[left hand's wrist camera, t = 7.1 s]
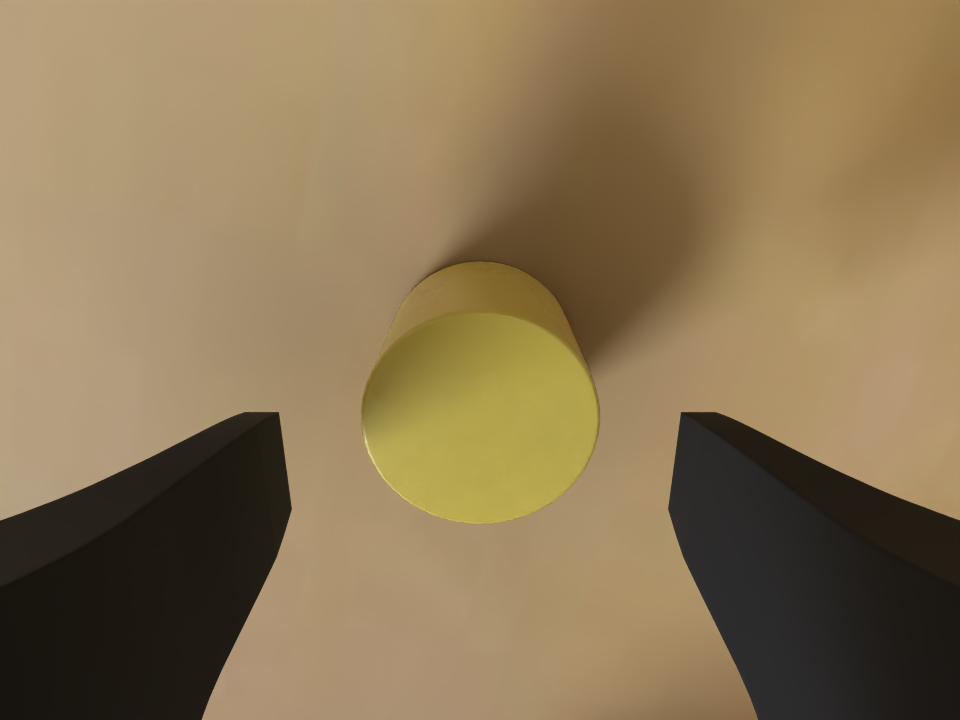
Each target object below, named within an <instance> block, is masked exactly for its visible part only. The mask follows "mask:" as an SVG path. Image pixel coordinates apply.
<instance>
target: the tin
mask: <svg viewBox="0 0 960 720" xmlns="http://www.w3.org/2000/svg"><path fill="white" fill-rule="evenodd" d="M599 426H600V406H599V400H598V394H597V391H596V387H595V384H594V381H593V379H592V376H591V374H590V372H589V369H588V367H587V365H586V362H585V360H584V358H583V356H582V353H581V351H580V349H579V346H578V344H577V342H576V339H575V337H574V335H573V333H572V330H571V328H570V326H569V323H568V321H567V319H566V317H565V314H564V312H563V310H562V308H561V306H560V305H559V303H558V302H557V300H556V299H555V297H554V296H553V295H552V294H551V293H550V291H549V290H548V289H547V288H546V287H545V286H544V285H542V284H541V283H540V282H539V281H538V280H536V279H535V278H533V277H532V276H530V275H529V274H527V273H525V272H523V271H521V270H519V269H517V268H514V267H511V266H508V265H505V264H500V263H494V262H482V261H478V262H466V263H461V264H456V265H453V266H450V267H447V268H444V269H442V270H440V271H438V272H436V273H434V274H432V275H430V276H429V277H427V278H426V279H424V280H423V281H422V282H420V283H419V284H418V285H417V286H416V287H415V288H414V289H413V290H412V291H411V292H410V293H409V295H408V296H407V297H406V298H405V300H404V301H403V303H402V304H401V306H400V307H399V309H398V312H397V314H396V316H395V318H394V321H393V323H392V325H391V327H390V330H389V332H388V334H387V337H386V339H385V341H384V344H383V346H382V348H381V351H380V353H379V355H378V358H377V360H376V362H375V365H374V367H373V369H372V371H371V374H370V376H369V378H368V381H367V383H366V387H365V390H364V394H363V398H362V405H361V427H362V433H363V439H364V442H365V445H366V448H367V452H368V454H369V456H370V458H371V460H372V462H373V464H374V466H375V467H376V469H377V470H378V472H379V474H380V475H381V477H382V478H383V479H384V480H385V481H386V482H387V484H388V485H389V486H390V487H391V488H392V489H393V490H394V491H395V492H396V493H398V494H399V495H400V496H401V497H402V498H404V499H405V500H406V501H408V502H409V503H411V504H412V505H414V506H416V507H418V508H419V509H421V510H423V511H425V512H427V513H430V514H432V515H435V516H438V517H441V518H444V519H448V520H452V521H457V522H464V523H477V524H485V523H498V522H503V521H509V520H513V519H516V518H520V517H523V516H526V515H528V514H531V513H533V512H536V511H538V510H540V509H541V508H543V507H545V506H547V505H549V504H550V503H552V502H553V501H554V500H556V499H557V498H558V497H560V496H561V495H562V494H563V493H564V492H565V491H567V490H568V489H569V488H570V487H571V486H572V485H573V483H574V482H575V481H576V480H577V479H578V477H579V476H580V475H581V473H582V472H583V470H584V469H585V467H586V465H587V464H588V462H589V460H590V458H591V455H592V453H593V451H594V448H595V445H596V441H597V438H598V433H599Z"/></svg>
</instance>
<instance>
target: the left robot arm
mask: <svg viewBox="0 0 960 720" xmlns="http://www.w3.org/2000/svg"><path fill="white" fill-rule="evenodd" d="M291 510H292V507H291V500H290V492H289V485H288V477H287V470H286V462H285V455H284V447H283V440H282V432H281V425H280V417H279V412H244V413H241V414H238V415H235V416H233V417H231V418H228V419H226V420H224V421H222V422H220V423H218V424H215V425H213V426H211V427H209V428H207V429H205V430H203V431H201V432H200V433H198V434H196V435H194V436H192V437H190V438H188V439H186V440H184V441H182V442H180V443H178V444H176V445H174V446H172V447H170V448H168V449H166V450H164V451H162V452H160V453H158V454H156V455H154V456H152V457H150V458H148V459H146V460H144V461H142V462H140V463H138V464H136V465H134V466H131V467H129V468H127V469H125V470H123V471H121V472H119V473H117V474H114V475H112V476H110V477H108V478H106V479H104V480H102V481H100V482H97V483H95V484H93V485H91V486H88V487H86V488H84V489H82V490H79V491H77V492H74V493H72V494H70V495H67V496H65V497H62V498H60V499H57V500H55V501H52V502H49V503H47V504H44V505H42V506H39V507H36V508H34V509H31V510H29V511H26V512H23V513H21V514H18V515H15V516H12V517H9V518H7V519H4V520H1V521H0V720H202V717H203V714H204V711H205V709H206V706H207V703H208V701H209V698H210V696H211V693H212V691H213V689H214V686H215V684H216V682H217V680H218V677H219V675H220V673H221V671H222V668H223V666H224V664H225V662H226V660H227V658H228V656H229V654H230V652H231V650H232V648H233V646H234V644H235V642H236V640H237V638H238V636H239V634H240V632H241V630H242V628H243V626H244V624H245V622H246V620H247V618H248V615H249V613H250V611H251V609H252V607H253V605H254V603H255V601H256V599H257V597H258V595H259V593H260V591H261V589H262V587H263V585H264V583H265V581H266V578H267V576H268V574H269V572H270V570H271V568H272V566H273V564H274V562H275V559H276V557H277V554H278V551H279V548H280V545H281V542H282V539H283V537H284V533H285V530H286V527H287V523H288V520H289V517H290V513H291ZM668 510H669V513H670V517H671V520H672V523H673V527H674V530H675V533H676V537H677V539H678V542H679V545H680V548H681V551H682V554H683V557H684V559H685V562H686V564H687V566H688V568H689V570H690V572H691V574H692V576H693V578H694V581H695V583H696V585H697V587H698V589H699V591H700V593H701V595H702V597H703V599H704V601H705V603H706V605H707V607H708V609H709V611H710V613H711V615H712V618H713V620H714V622H715V624H716V626H717V628H718V630H719V632H720V634H721V636H722V638H723V640H724V642H725V644H726V646H727V648H728V650H729V652H730V654H731V656H732V658H733V660H734V662H735V664H736V666H737V668H738V671H739V673H740V675H741V677H742V680H743V682H744V684H745V686H746V689H747V691H748V693H749V696H750V698H751V701H752V703H753V706H754V709H755V711H756V714H757V717H758V720H960V520H957V519H954V518H951V517H948V516H946V515H943V514H940V513H938V512H935V511H932V510H930V509H927V508H925V507H922V506H919V505H917V504H914V503H911V502H909V501H906V500H903V499H901V498H898V497H896V496H893V495H891V494H889V493H886V492H884V491H881V490H879V489H877V488H874V487H872V486H870V485H868V484H865V483H863V482H861V481H859V480H857V479H854V478H852V477H850V476H848V475H846V474H843V473H841V472H839V471H837V470H835V469H833V468H831V467H828V466H826V465H824V464H822V463H820V462H818V461H816V460H814V459H812V458H810V457H808V456H806V455H804V454H802V453H800V452H798V451H796V450H794V449H792V448H790V447H788V446H786V445H784V444H782V443H780V442H778V441H776V440H775V439H773V438H771V437H769V436H767V435H765V434H763V433H761V432H759V431H757V430H755V429H753V428H751V427H749V426H747V425H745V424H743V423H741V422H739V421H736V420H734V419H732V418H730V417H727V416H725V415H722V414H719V413H716V412H681V417H680V425H679V432H678V440H677V447H676V455H675V462H674V470H673V477H672V485H671V492H670V500H669V507H668Z"/></svg>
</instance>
